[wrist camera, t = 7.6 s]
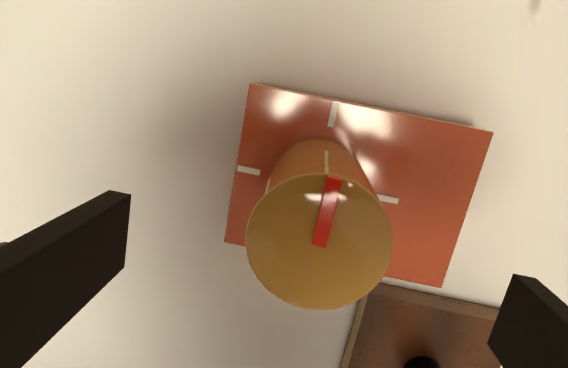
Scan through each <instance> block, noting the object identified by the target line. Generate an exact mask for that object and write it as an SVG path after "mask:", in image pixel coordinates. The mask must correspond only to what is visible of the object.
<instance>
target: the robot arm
mask: <svg viewBox="0 0 568 368" xmlns="http://www.w3.org/2000/svg"><path fill="white" fill-rule="evenodd" d="M130 202H131V194H126V193H121V192H116V191H111V190H109V191H107V192H105V193H103V194H101V195H99V196H97V197H95V198H93V199H91V200H89V201H88V202H86V203H84V204H82V205H80V206H78V207H76V208H74V209H72V210H70V211H68V212H66V213H65V214H63V215H61V216H59V217H57V218H55V219H53V220H51V221H49V222H47V223H45V224H44V225H42V226H40V227H38V228H36V229H34V230H32V231H30V232H28V233H26V234H24V235H22V236H21V237H19V238H17V239H15V240H13V241H11V242H9V243H8V242H3V243H0V368H21V367H22V366H23V365H24V364H25V363H26V362H27V361H29V360H30V359H31V358H32V357H33V356H34V355H35V354H36V353H37V352H38V351H39V350H40V349H41V348H42V347H43V346H44V345H45V344H46V343H47V342H48V341H49V340H50V339H51V338H52V337H53V336H54V335H55V334H56V333H57V332H58V331H59V330H60V329H61V328H62V327H63V326H64V325H65V324H66V323H67V322H69V321H70V320H71V319H72V318H73V317H74V316H75V315H76V314H77V313H78V312H79V311H80V310H81V309H82V308H83V307H84V306H85V305H86V304H87V303H88V302H89V301H90V300H91V299H92V298H93V297H94V296H95V295H96V294H97V293H98V292H99V291H100V290H101V289H102V288H103V287H104V286H105V285H106V284H107V283H108V282H110V281H111V280H112V279H113V278H114V277H115V276H116V275H117V274H118V273H119V272H120V271H121V270H122V269H123V268H124V264H125V254H126V243H127V233H128V223H129V212H130ZM487 344H488V346H489V347H490V349H491V350H492V352H493V353H494V355H495V356H496V358H497V359H498V361H499V362H500V364H501V365H502V367H503V368H568V306H567V305H566V304H565V303H564V302H563V301H562V300H560V299H559V298H558V297H557V296H556V295H555V294H554V293H552V292H551V291H550V290H549V289H548V288H547V287H545V286H544V285H543V284H542V283H541V282H540V281H538V280H537V279H536V278H532V277H527V276H522V275H517V274H513V276H512V278H511V281H510V284H509V286H508V289H507V292H506V294H505V297H504V299H503V302H502V305H501V307H500V310H499V313H498V315H497V318H496V320H495V323H494V326H493V328H492V331H491V334H490V336H489V339H488V342H487Z"/></svg>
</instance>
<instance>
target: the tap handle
mask: <svg viewBox="0 0 568 368" xmlns="http://www.w3.org/2000/svg"><path fill="white" fill-rule="evenodd" d="M245 245H246V252H247V257H248V260H249V263H250V266H251V268H252V270H253V272H254V273H255V275H256V277H257V278H258V280H259V281H260V282H261V283H262V284H263V286H264V287H265V288H266V289H267V290H269V291H270V292H271V293H272V294H273V295H275V296H276V297H278V298H279V299H281V300H283V301H285V302H287V303H289V304H291V305H294V306H297V307H301V308H305V309H312V310H328V309H335V308H340V307H343V306H346V305H349V304H351V303H353V302H356V301H357V300H359V299H361V298H362V297H364V296H365V295H367V294H368V293H369V292H370V291H372V290H373V288H374V287H375V286H376V285H377V284H378V283H379V282H380V280H381V279H382V278H383V276H384V274H385V272H386V271H387V269H388V266H389V264H390V261H391V257H392V252H393V231H392V227H391V223H390V220H389V217H388V215H387V213H386V211H385V209H384V207H383V205H382V204H381V202H380V200H379V198H378V196H377V194H376V192H375V190H374V189H373V187H372V185H371V183H370V181H369V179H368V177H367V175H366V173H365V172H364V170H363V168H362V166H361V164H360V162H359V160H358V159H357V158H356V156H355V155H354V154H353V153H352V152H351V151H350V150H349V149H348V148H347V147H345V146H344V145H342V144H340V143H338V142H336V141H333V140H330V139H325V138H311V139H306V140H302V141H300V142H297V143H295V144H294V145H292V146H290V147H289V148H288V149H286V150H285V151H284V152H283V153H282V155H281V156H280V157H279V158H278V160H277V162H276V163H275V165H274V167H273V170H272V172H271V174H270V176H269V178H268V180H267V182H266V184H265V186H264V188H263V190H262V192H261V194H260V196H259V198H258V200H257V202H256V205H255V207H254V209H253V211H252V213H251V215H250V218H249V220H248V224H247V228H246V236H245Z"/></svg>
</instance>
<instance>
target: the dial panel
mask: <svg viewBox="0 0 568 368" xmlns="http://www.w3.org/2000/svg"><path fill="white" fill-rule="evenodd" d="M492 135H493V132H491V131H487V130H484V129H481V128H477V127H474V126H469V125H464V124H459V123H454V122H449V121H444V120H439V119H434V118H429V117H424V116H419V115H414V114H409V113H405V112H400V111H395V110H390V109H385V108H380V107H375V106H370V105H365V104H360V103H355V102H350V101H345V100H340V99H335V98H330V97H325V96H320V95H315V94H310V93H305V92H300V91H295V90H290V89H285V88H280V87H275V86H270V85H265V84H260V83H251V84H250V86H249V92H248V98H247V104H246V110H245V116H244V122H243V129H242V135H241V141H240V147H239V153H238V159H237V165H236V171H235V178H234V184H233V190H232V196H231V202H230V208H229V214H228V220H227V226H226V233H225V239H224V242H226V243H230V244H235V245H240V246H245V247H246V245H245V236H246V228H247V224H248V220H249V218H250V215H251V213H252V211H253V209H254V207H255V205H256V202H257V200H258V198H259V196H260V194H261V192H262V190H263V188H264V186H265V184H266V182H267V180H268V178H269V176H270V174H271V172H272V170H273V167H274V165H275V163H276V162H277V160H278V158H279V157H280V156H281V155H282V153H283V152H284V151H285V150H286V149H288V148H289V147H290V146H292V145H294V144H295V143H297V142H300V141H302V140H306V139H311V138H325V139H330V140H333V141H336V142H338V143H340V144H342V145H344V146H345V147H347V148H348V149H349V150H350V151H351V152H352V153H353V154H354V155H355V156H356V158H357V159H358V160H359V162H360V164H361V166H362V168H363V170H364V172H365V173H366V175H367V177H368V179H369V181H370V183H371V185H372V187H373V189H374V190H375V192H376V194H377V196H378V198H379V200H380V202H381V204H382V205H383V207H384V209H385V211H386V213H387V215H388V217H389V220H390V223H391V227H392V231H393V252H392V257H391V261H390V264H389V266H388V269H387V271H386V272H385V274H384V276H386V277H391V278H396V279H400V280H405V281H410V282H414V283H419V284H424V285H429V286H433V287H438V288H441V286H442V283H443V281H444V278H445V275H446V272H447V269H448V266H449V263H450V260H451V257H452V254H453V251H454V248H455V245H456V242H457V239H458V236H459V233H460V230H461V227H462V224H463V221H464V218H465V215H466V212H467V209H468V206H469V203H470V200H471V198H472V195H473V192H474V189H475V186H476V183H477V180H478V177H479V174H480V171H481V168H482V165H483V162H484V159H485V156H486V153H487V150H488V147H489V144H490V141H491V138H492Z"/></svg>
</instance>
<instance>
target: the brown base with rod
mask: <svg viewBox="0 0 568 368" xmlns="http://www.w3.org/2000/svg"><path fill="white" fill-rule="evenodd" d="M499 310H500V309H498V308H493V307H489V306H484V305H479V304H475V303H470V302H465V301H460V300H456V299H451V298H446V297H442V296H437V295H432V294H427V293H423V292H418V291H413V290H409V289H404V288H399V287H395V286H390V285H385V284H380V283H378V284H377V285H376V286H375V287H374V288H373V290H372V291H370V292H369V293H368V294H367V295H365V296H364V297H362V298H361V299H360V300H359V304H358V308H357V311H356V315H355V318H354V322H353V326H352V329H351V333H350V336H349V340H348V344H347V347H346V351H345V355H344V358H343V362H342V365H341V368H500V366H501V364H500V362H499V361H498V359H497V358H496V356H495V355H494V353H493V352H492V350H491V349H490V347H489V346H488V344H487V342H488V339H489V336H490V334H491V331H492V328H493V326H494V323H495V320H496V318H497V315H498V313H499Z"/></svg>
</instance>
